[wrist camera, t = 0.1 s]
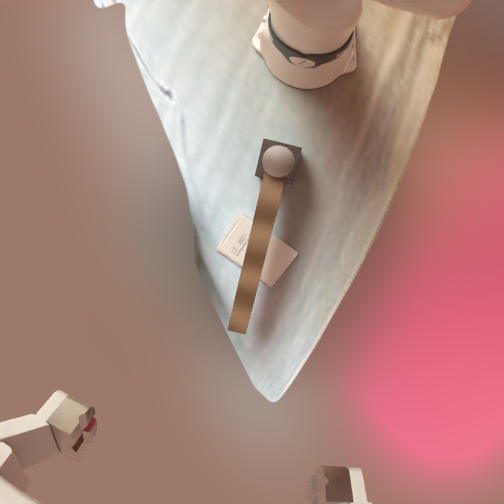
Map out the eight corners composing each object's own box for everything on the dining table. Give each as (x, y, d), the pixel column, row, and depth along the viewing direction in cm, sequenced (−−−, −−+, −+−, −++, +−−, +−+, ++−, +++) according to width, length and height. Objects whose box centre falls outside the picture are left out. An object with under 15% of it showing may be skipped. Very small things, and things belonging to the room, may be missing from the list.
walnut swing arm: (267, 144, 45) (266, 142, 40) (295, 151, 45) (297, 149, 40) (227, 317, 54) (222, 332, 49) (251, 323, 54) (249, 338, 49)
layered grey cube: (265, 141, 51) (263, 138, 45) (299, 149, 51) (301, 147, 45) (257, 174, 53) (254, 175, 47) (291, 182, 53) (292, 185, 47)
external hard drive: (271, 284, 59) (216, 247, 58) (297, 251, 57) (241, 211, 55) (271, 288, 57) (215, 249, 56) (298, 253, 55) (240, 213, 54)
